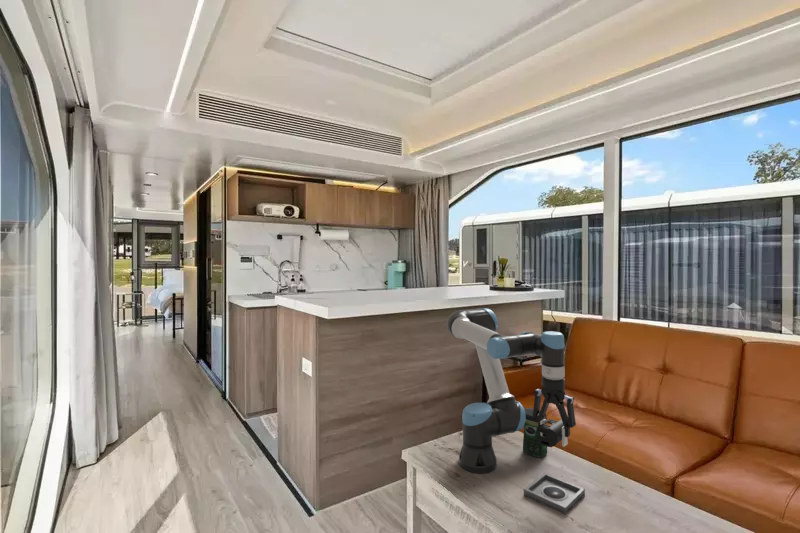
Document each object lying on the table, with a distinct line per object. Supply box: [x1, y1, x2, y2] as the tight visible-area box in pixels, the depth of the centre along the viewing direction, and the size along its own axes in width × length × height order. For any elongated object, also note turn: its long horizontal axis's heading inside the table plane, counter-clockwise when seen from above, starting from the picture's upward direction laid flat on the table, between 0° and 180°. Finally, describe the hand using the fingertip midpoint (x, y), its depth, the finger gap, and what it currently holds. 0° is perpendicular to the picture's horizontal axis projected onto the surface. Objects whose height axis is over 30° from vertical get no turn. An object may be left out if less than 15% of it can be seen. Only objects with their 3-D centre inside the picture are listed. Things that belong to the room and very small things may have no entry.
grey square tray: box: [523, 472, 586, 515], centre depth 146 cm, size 15×15×2 cm
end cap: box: [538, 418, 564, 448], centre depth 146 cm, size 10×7×7 cm
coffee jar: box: [522, 407, 548, 458], centre depth 176 cm, size 10×8×19 cm
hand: (553, 441), depth 146 cm, fingers closed on end cap, 7 cm apart
